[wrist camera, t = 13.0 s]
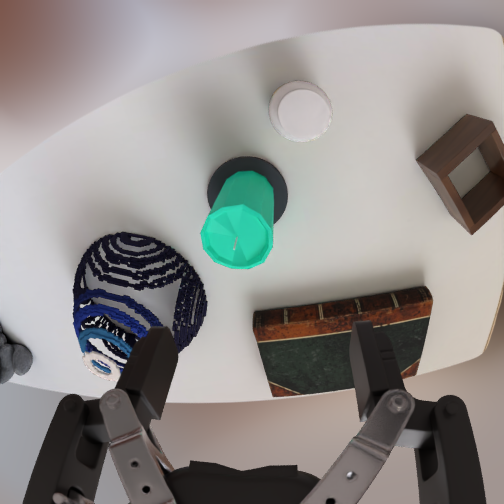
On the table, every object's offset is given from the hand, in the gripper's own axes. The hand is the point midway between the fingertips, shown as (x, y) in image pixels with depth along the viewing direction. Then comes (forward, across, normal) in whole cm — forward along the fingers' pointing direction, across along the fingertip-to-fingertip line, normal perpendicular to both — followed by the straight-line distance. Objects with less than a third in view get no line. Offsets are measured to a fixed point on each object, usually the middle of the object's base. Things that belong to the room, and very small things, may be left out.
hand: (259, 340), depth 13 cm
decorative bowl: (+24, +20, +16) cm, 35 cm away
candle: (+24, +3, +2) cm, 24 cm away
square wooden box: (+24, -24, -1) cm, 34 cm away
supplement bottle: (+24, -3, -7) cm, 26 cm away
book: (+24, -9, +26) cm, 37 cm away
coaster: (+24, +3, +2) cm, 24 cm away
